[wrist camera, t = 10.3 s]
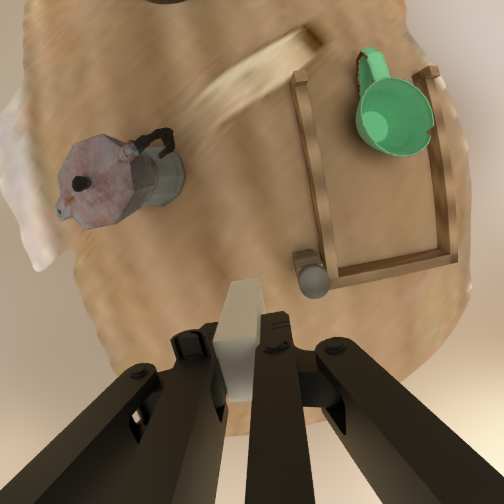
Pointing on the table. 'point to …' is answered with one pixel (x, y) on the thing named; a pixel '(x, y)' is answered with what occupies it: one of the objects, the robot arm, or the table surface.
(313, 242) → the table surface
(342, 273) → the bay
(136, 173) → the moka pot
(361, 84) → the mug
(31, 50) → the table surface
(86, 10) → the table surface
